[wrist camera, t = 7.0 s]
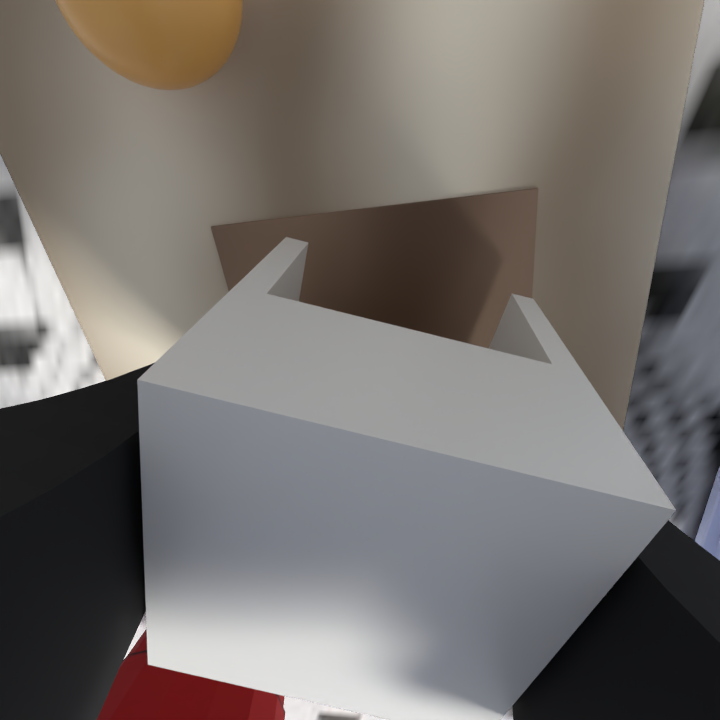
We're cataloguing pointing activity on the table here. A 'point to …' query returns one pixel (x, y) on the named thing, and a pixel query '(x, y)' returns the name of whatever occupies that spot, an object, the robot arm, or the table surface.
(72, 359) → the table surface
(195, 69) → the orange marble
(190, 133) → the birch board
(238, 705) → the plastic cup
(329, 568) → the white tabletop archway
